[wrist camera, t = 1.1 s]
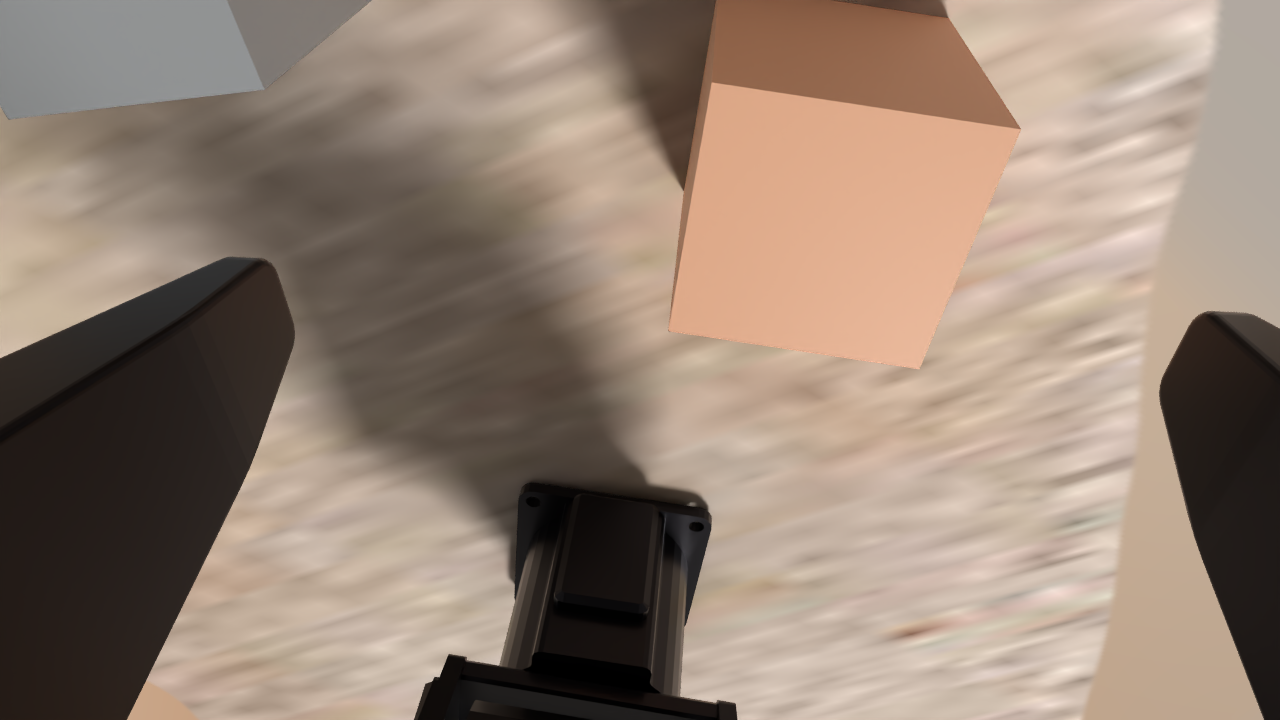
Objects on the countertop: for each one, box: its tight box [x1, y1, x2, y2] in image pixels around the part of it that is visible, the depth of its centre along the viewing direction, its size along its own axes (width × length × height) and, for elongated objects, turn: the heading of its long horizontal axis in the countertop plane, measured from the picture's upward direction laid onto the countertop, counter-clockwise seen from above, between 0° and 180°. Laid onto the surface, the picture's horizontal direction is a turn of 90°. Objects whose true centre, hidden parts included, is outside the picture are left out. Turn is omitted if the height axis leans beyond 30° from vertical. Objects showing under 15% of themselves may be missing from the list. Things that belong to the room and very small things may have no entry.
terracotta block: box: [668, 0, 1021, 369], centre depth 17 cm, size 5×5×6 cm
